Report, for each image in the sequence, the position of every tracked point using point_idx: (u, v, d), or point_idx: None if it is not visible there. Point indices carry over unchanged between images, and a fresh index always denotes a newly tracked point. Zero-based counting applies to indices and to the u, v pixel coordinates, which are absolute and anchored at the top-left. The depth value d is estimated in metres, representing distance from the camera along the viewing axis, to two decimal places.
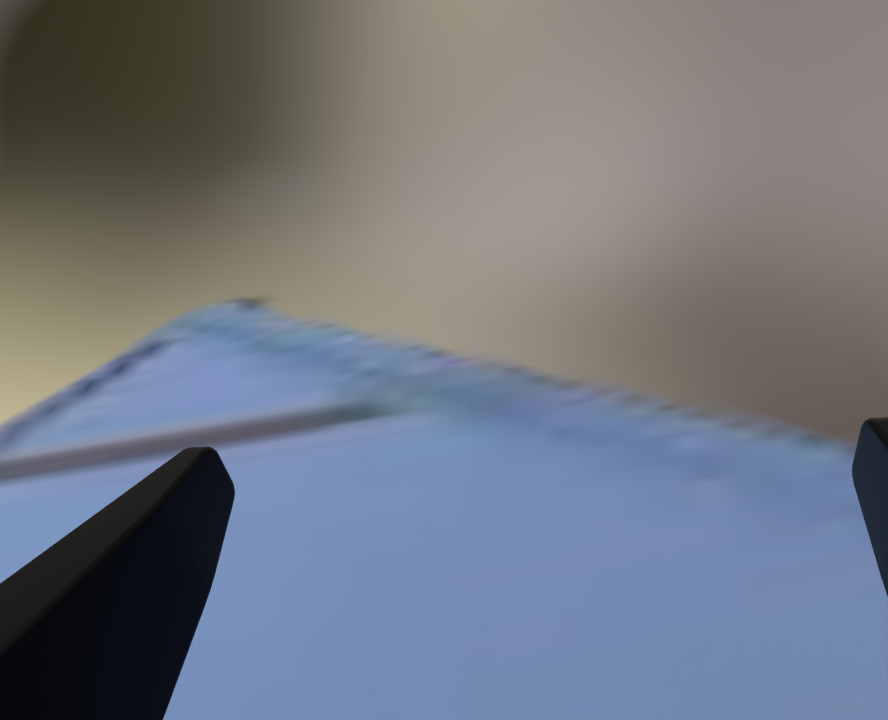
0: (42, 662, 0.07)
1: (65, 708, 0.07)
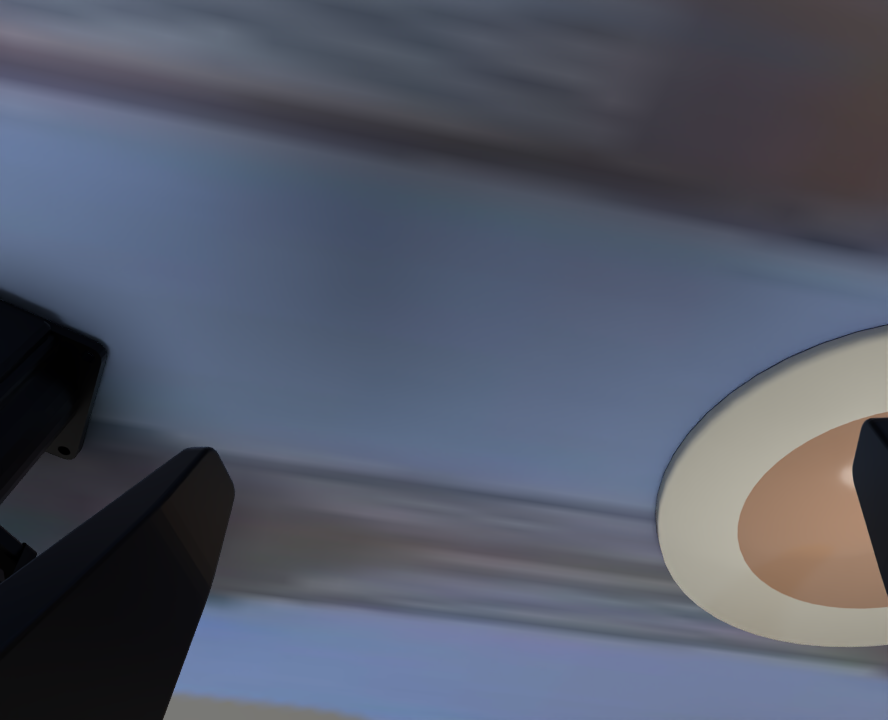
0: (42, 662, 0.07)
1: (65, 708, 0.07)
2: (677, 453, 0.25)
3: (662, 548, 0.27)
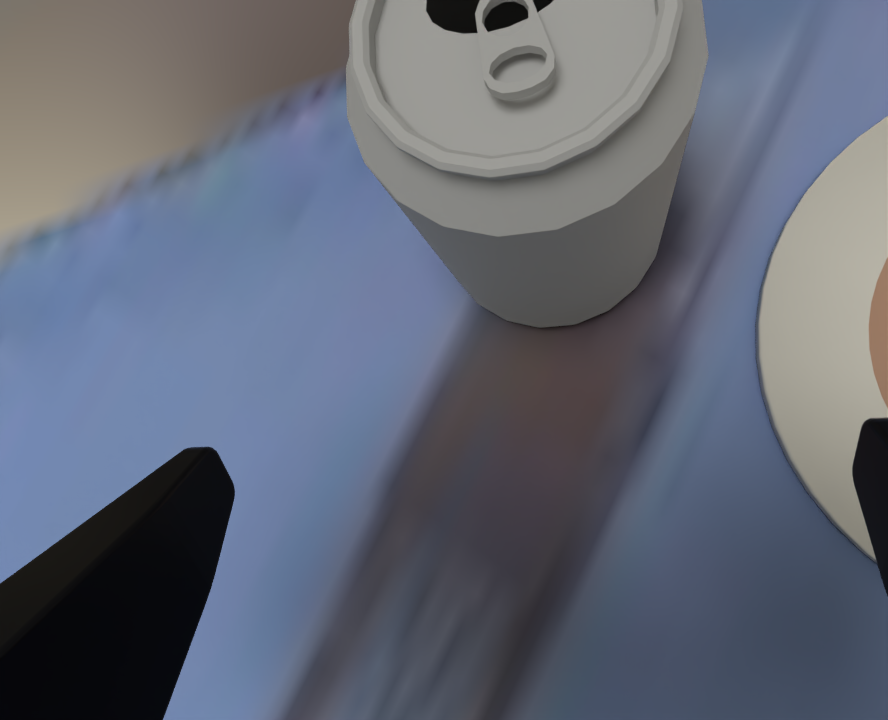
0: (42, 662, 0.07)
1: (65, 708, 0.07)
2: None
3: None
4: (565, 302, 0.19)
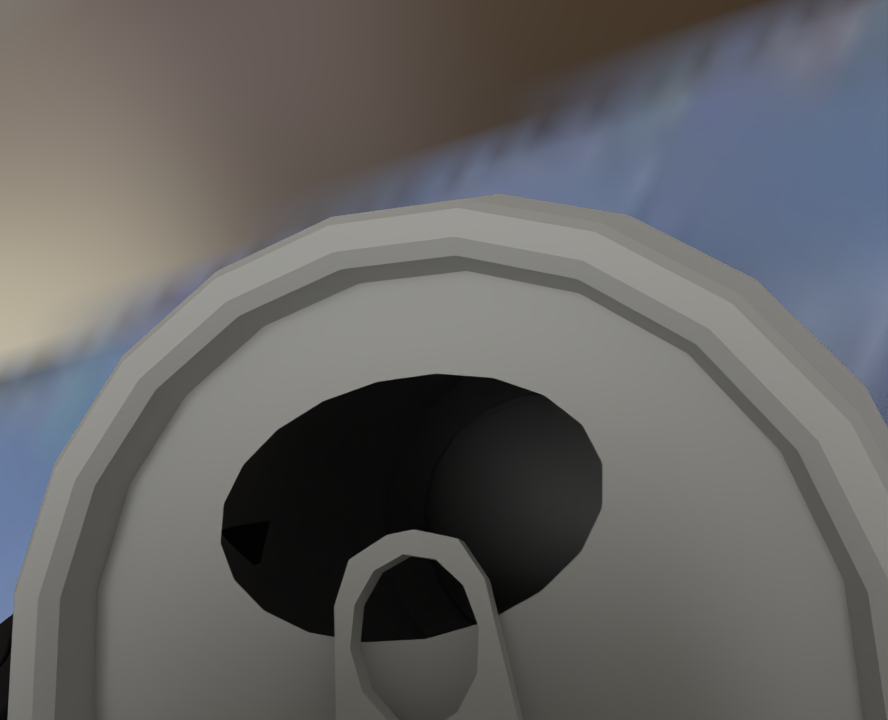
0: None
1: None
2: None
3: None
4: None
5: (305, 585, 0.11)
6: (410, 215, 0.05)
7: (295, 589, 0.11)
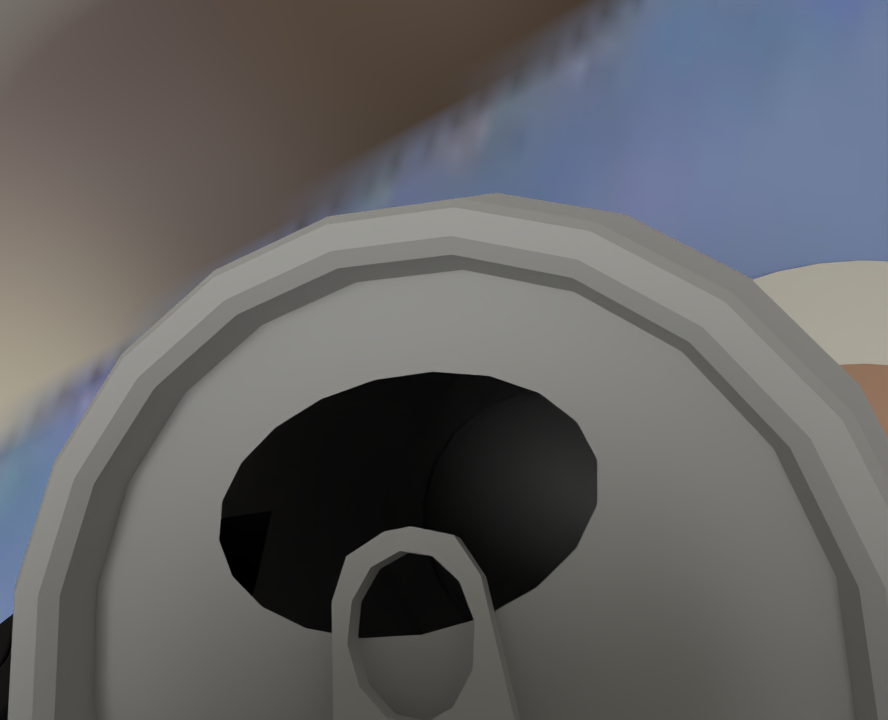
0: None
1: None
2: None
3: None
4: None
5: (304, 582, 0.11)
6: (406, 214, 0.05)
7: (295, 586, 0.11)
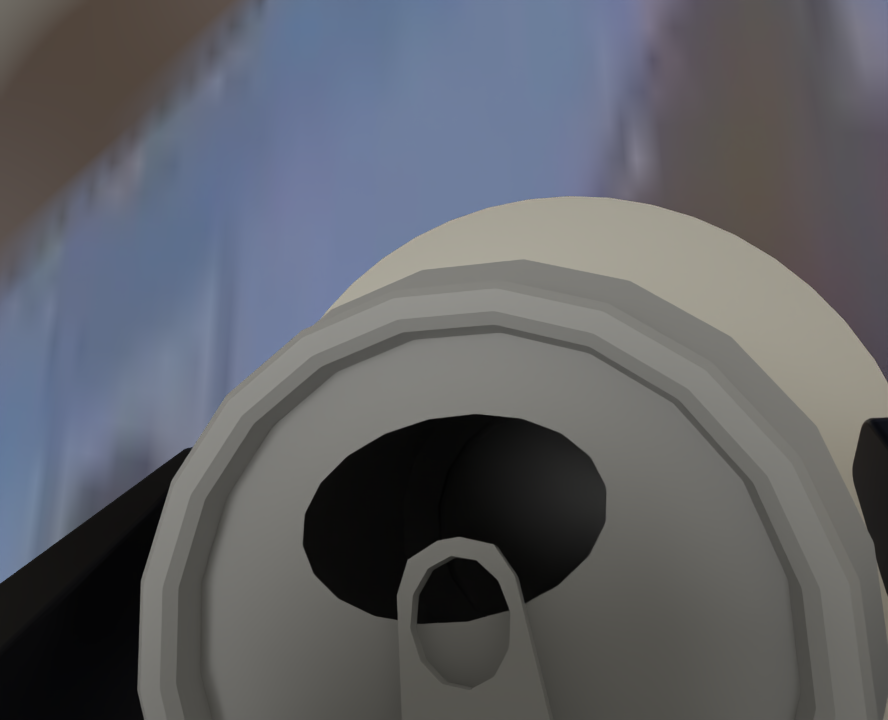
0: (42, 662, 0.07)
1: (65, 708, 0.07)
2: None
3: None
4: None
5: (338, 579, 0.13)
6: (458, 292, 0.06)
7: (330, 582, 0.12)
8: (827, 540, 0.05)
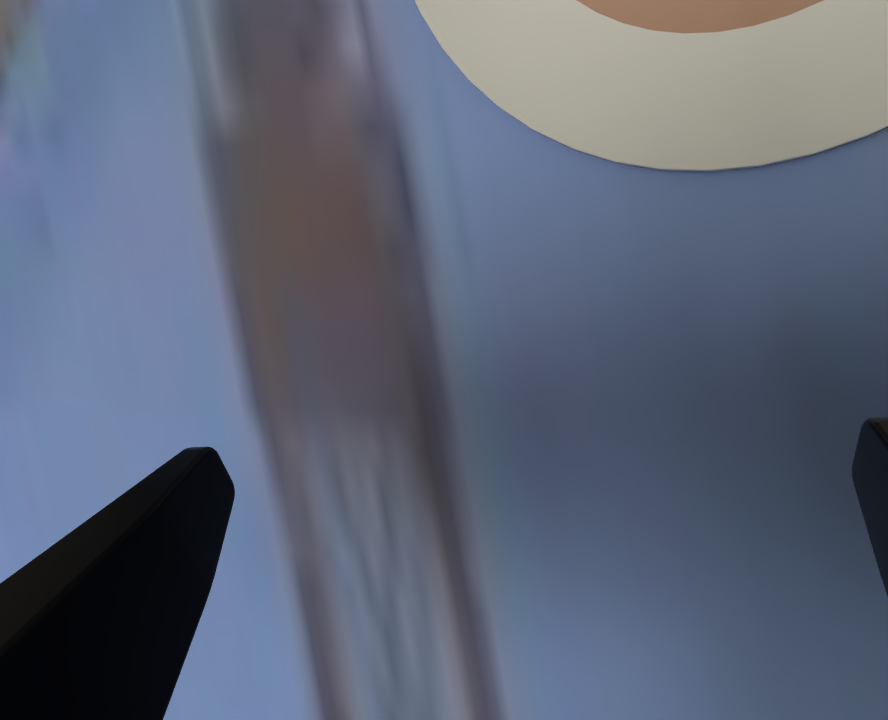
0: (42, 662, 0.07)
1: (65, 708, 0.07)
2: (748, 167, 0.16)
3: None
4: None
5: None
6: None
7: None
8: None
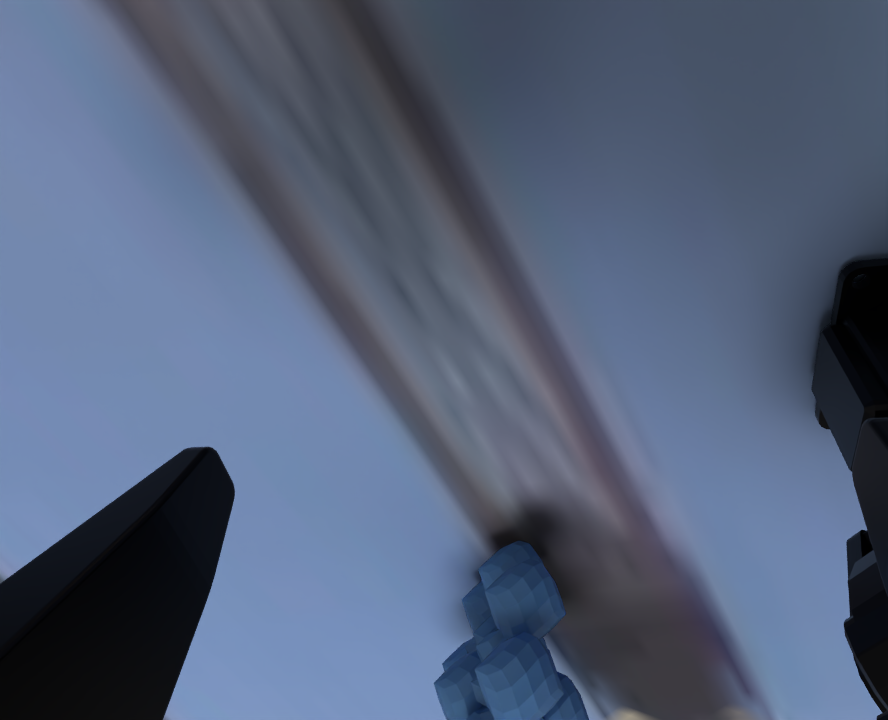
0: (42, 662, 0.07)
1: (65, 708, 0.07)
2: None
3: None
4: None
5: None
6: None
7: None
8: None
